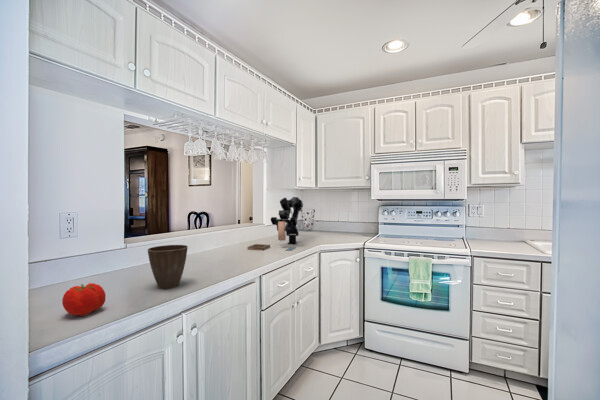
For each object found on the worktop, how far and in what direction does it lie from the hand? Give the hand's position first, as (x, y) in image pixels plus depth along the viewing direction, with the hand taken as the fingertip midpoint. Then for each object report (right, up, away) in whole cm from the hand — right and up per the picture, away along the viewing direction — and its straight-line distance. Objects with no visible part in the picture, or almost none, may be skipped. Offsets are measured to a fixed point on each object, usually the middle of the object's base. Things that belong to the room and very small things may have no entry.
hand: (281, 230), depth 194 cm
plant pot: (-41, -15, -80) cm, 91 cm away
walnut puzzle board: (-16, -14, +2) cm, 21 cm away
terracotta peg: (0, -7, +1) cm, 7 cm away
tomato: (-55, -15, -106) cm, 120 cm away
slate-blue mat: (+3, -13, +2) cm, 14 cm away
